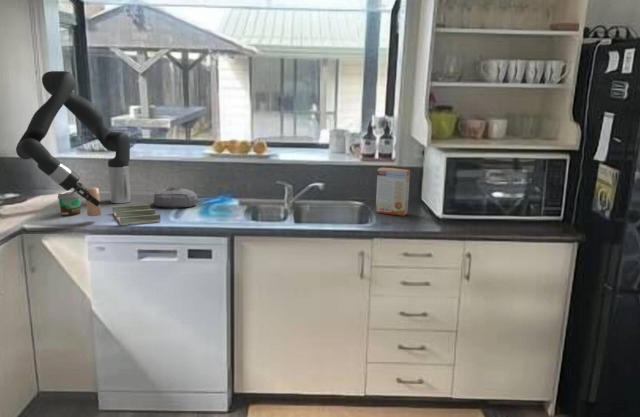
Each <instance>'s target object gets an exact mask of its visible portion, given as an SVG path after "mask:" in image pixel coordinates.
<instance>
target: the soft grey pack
mask: <svg viewBox="0 0 640 417" xmlns="http://www.w3.org/2000/svg"><path fill="white" fill-rule="evenodd" d="M198 200H199V198H198V195H197V193H196V192H195V191H193V190H191V189H186V188H181V187H170V186H169V187H168V188H163V189H159V190H156V192H155V194H154V195H153V203H154V204H153V205H154V206H155V207H160V208H169V209H170V208H171V209H174V208H175V209H177V208H179V209H183V208H189V207H194V206H197V202H198Z"/></svg>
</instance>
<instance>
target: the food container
mask: <svg viewBox="0 0 640 417" xmlns="http://www.w3.org/2000/svg"><path fill="white" fill-rule="evenodd" d="M73 189H74V188H73ZM74 190H75V189H74ZM74 190H72V191H66V192H65V193H57V199H58V201H59V210H60V214H61V217H74V216H78V215H80V214H81V206H82V204H81V200H82V197H81V196H80V195H79V194H77V193H76V192H75V191H74Z"/></svg>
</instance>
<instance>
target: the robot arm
mask: <svg viewBox="0 0 640 417" xmlns="http://www.w3.org/2000/svg"><path fill="white" fill-rule="evenodd" d="M41 83H42V86H43V88H44V89H45V91H46V92H47V93H48V94H49V95H50V97H49V98H48V100H46V102H44V104H42V105H41V106H40V107H39V108H38V109H37V110H36V111H35V113H34V114H33V116H32V117H31V120H30V121H29V124H28V126H27V129H26V131H25V132H24V133H23V135H22V136H21V138H20V139H19V141H18V143H17V144H16V149H15V151H16V155H17V156H18V157H19V158H20V159H22V160H31V159H32V160H33V161H34V162H35V163H37V168H38V169H39V170H40V171H41V172H43V173H44V174H45V175H46V176H48V177H49V178H50V179H51V180H52V181H53V182H55V184H57V185H58V186H60V187H61V188H62V189H64V191H66V192H69V191H70V190H71V189H75V190H73V191H75V192H76V193H77V194H79V195H80V196H81V198H82V199H85V201H86V200H87V201H90V202H92V203H93V204H94V205H95V206H99V205H100V206H101V201H100V202H99V201H98V200H97V199H96V198H94V197H93V195H91V194H90V192H89V191H88V190H87V189H86V188H87V187H86V186H85V185H84V184H83V183H80V182H79V180H80V179H81V177H80V176H79V175H78V174H77V173H76V172H75V171H73V170H72V169H71V168H70V167H68V166H67V165H66V164H63V162H61V161H59V160H58V159H57V158H56V157H55V156H53V155H52V154H51V153H50V152H49V150H48V149H47V148H46V147H45V146H44V145H43V143H42V140H43V139H44V138H45V137H46V135H47V134H48V132H49V130H50V127H52V123H53V121H54V119H55V118H56V116H57V114H58V113H59V112H60V109H62V107H65V108H66V109H67V110H68V111H70V113H72V115H73V116H75V118H76V119H77V120H79V122H80V123H81V124H82V125H84V126H85V127H86V128H87V129H88V130H89V131H90V132H91V134H93V135H94V137H95V138H96V139H97V141H99V143H100V144H101V145H102V146H103V147H104V148H105V149H106V150H107V151H109V152H115V156H114V157H113V158H110V159H108V160H107V168H108V182H109V185H108V186H109V198H110V199H109V202H110V203H113V204H124V203H125V204H126V203H130V202H131V184H130V182H131V181H130V165H129V164H130V159H131V157H130V156H131V148H130V147H131V143H130V138H129V135H128V133H126V132H123V131H122V132H120V131H112V130H110V129H109V128H108V127H107V126H106V125H105V124H104V116H103V114H102V111H100V109H99V108H98V107H97V106H96V105H95V104H94V103H93V102H91V101H90V100H88V99H87V98H85V97H83V96H81V95H79V94H77V93H76V92H74V89H75V87H76V79H75V77H74V75H73V74H72V73H71V72H70V71H65V70H51V71H47V72H45V73H44V74H43V75H42V77H41ZM87 195H89V197H88V198H87V197H86V196H87Z"/></svg>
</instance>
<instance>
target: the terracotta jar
mask: <svg viewBox="0 0 640 417" xmlns="http://www.w3.org/2000/svg"><path fill="white" fill-rule="evenodd" d="M86 189H87V190H88V191H89V192H90V194H91V195H93V197H94V198H96V199H97V200H98V201H99V202H100V203H101V198H100V197H101V196H100V188H99V187H97V186H93V187H90V186H89V187H86ZM86 197H87V198H88V197H89V195H87V196H86ZM85 202H86V203H85V204H86V215H87V217H99V216H101V213H102V211H101V204H100V205H99V206H95V205H94V204H93V203H92V202H90V201H87V200H86V199H85Z"/></svg>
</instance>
